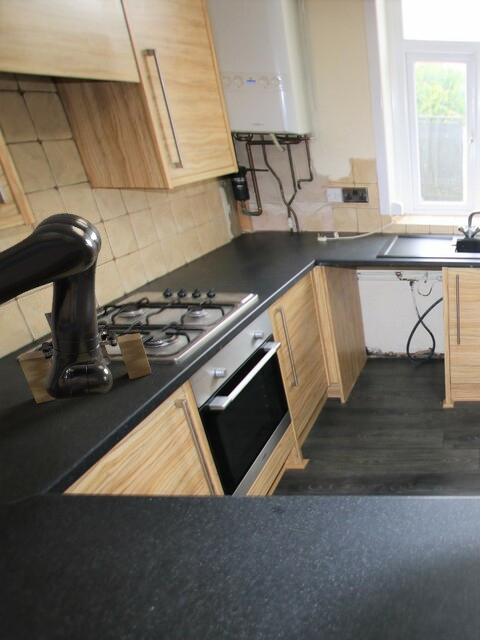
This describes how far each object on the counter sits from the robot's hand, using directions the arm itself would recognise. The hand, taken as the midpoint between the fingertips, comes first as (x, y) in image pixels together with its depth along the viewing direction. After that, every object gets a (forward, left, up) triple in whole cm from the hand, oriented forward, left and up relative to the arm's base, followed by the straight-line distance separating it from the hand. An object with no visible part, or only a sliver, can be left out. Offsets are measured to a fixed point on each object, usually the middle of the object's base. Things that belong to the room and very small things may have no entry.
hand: (81, 335), depth 123 cm
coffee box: (-1, -1, -9) cm, 9 cm away
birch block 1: (-10, -2, -14) cm, 17 cm away
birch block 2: (+9, -2, -14) cm, 17 cm away
